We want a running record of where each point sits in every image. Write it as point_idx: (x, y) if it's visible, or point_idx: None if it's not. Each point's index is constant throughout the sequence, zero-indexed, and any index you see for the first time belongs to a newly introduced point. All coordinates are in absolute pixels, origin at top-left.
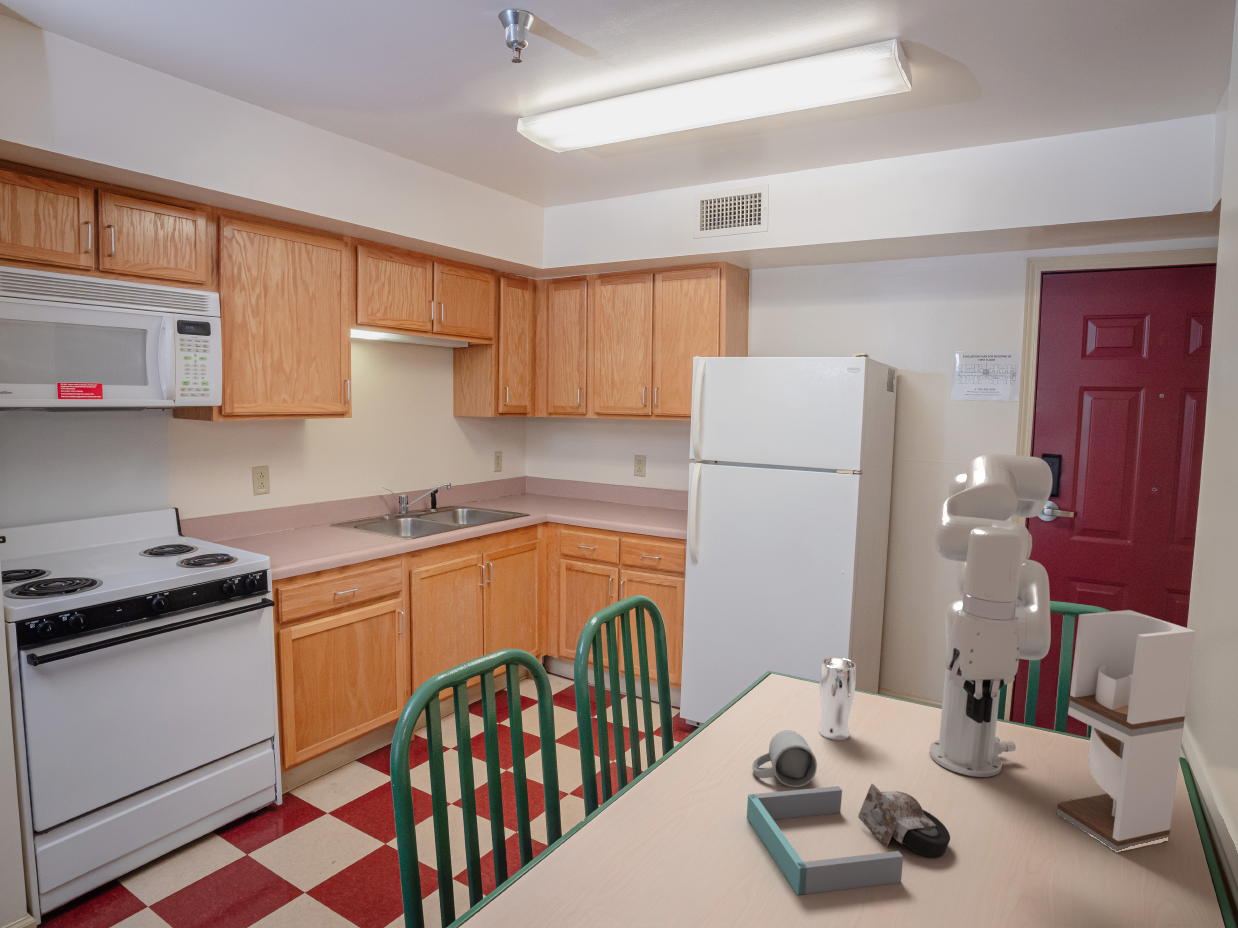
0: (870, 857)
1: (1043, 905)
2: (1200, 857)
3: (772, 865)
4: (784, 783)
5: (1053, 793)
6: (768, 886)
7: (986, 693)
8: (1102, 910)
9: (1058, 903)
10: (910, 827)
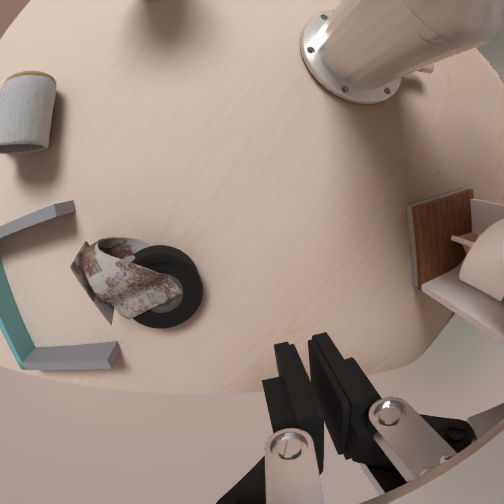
0: (76, 366)
1: (268, 377)
2: None
3: None
4: (23, 152)
5: (427, 157)
6: None
7: (353, 459)
8: None
9: None
10: (133, 314)
